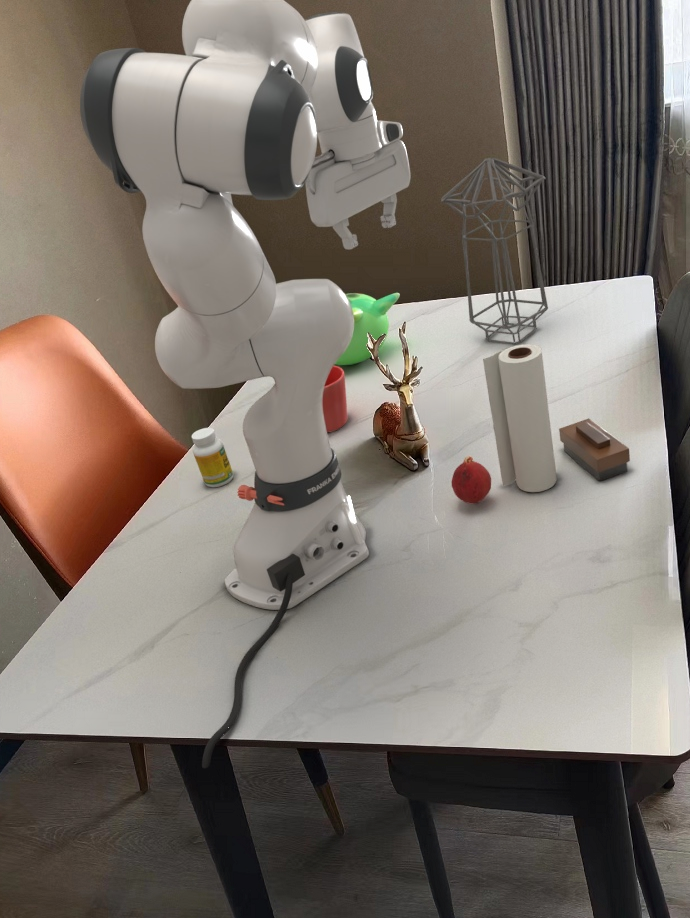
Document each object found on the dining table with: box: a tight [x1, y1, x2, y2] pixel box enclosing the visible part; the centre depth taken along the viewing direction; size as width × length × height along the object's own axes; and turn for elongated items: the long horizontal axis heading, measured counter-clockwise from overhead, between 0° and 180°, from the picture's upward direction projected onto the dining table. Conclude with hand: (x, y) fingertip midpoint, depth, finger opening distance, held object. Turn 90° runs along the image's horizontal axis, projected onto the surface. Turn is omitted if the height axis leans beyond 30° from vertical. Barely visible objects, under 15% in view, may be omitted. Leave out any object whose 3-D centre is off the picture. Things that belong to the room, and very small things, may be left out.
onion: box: [451, 455, 492, 505], centre depth 127 cm, size 6×6×8 cm
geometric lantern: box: [440, 157, 549, 346], centre depth 170 cm, size 16×16×35 cm
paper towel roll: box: [482, 344, 557, 493], centre depth 125 cm, size 7×6×21 cm
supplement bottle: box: [190, 427, 234, 488], centre depth 150 cm, size 5×5×10 cm
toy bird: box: [334, 292, 401, 366], centre depth 182 cm, size 18×17×15 cm
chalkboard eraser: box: [558, 418, 631, 482], centre depth 131 cm, size 12×5×5 cm, turn 18°
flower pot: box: [322, 365, 348, 433], centre depth 160 cm, size 11×11×10 cm
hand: (370, 237), depth 132 cm, fingers open, 8 cm apart
